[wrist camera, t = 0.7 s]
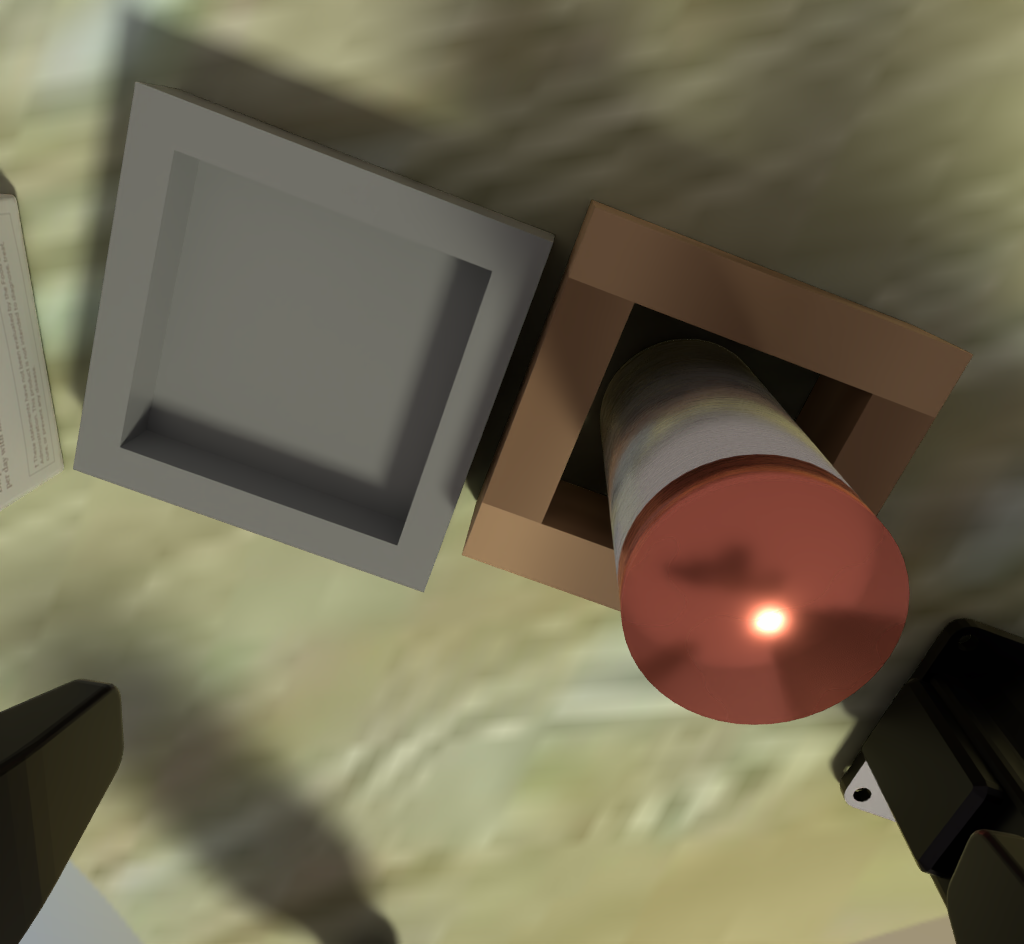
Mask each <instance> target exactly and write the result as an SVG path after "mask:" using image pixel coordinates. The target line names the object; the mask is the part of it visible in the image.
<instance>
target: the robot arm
mask: <svg viewBox="0 0 1024 944" xmlns="http://www.w3.org/2000/svg"><path fill="white" fill-rule="evenodd" d="M966 635H971V637H970V638H969V639H968V640H967V641H965V642H962V643H958V642H959V640H960V639H961V638H962V637H963V636H966ZM123 749H124V741H123V724H122V707H121V696H120V692H119V690H118V688H117V687H116V686H114V685H113V684H110V683H104V682H98V681H92V680H86V679H78V680H74V681H71V682H69V683H66V684H64V685H62V686H59V687H57V688H55V689H53V690H50V691H48V692H46V693H43V694H41V695H39V696H36V697H34V698H32V699H29V700H27V701H25V702H23V703H20V704H18V705H16V706H13V707H11V708H9V709H6V710H4V711H2V712H0V944H18V943H19V942H20V940H21V939H22V938H23V936H24V934H25V933H26V932H27V930H28V929H29V927H30V925H31V924H32V922H33V921H34V919H35V918H36V916H37V915H38V913H39V911H40V910H41V908H42V907H43V905H44V903H45V901H46V900H47V898H48V896H49V895H50V893H51V891H52V890H53V888H54V886H55V884H56V882H57V881H58V879H59V877H60V875H61V873H62V871H63V870H64V868H65V866H66V864H67V862H68V860H69V859H70V857H71V855H72V853H73V851H74V849H75V848H76V846H77V844H78V842H79V840H80V838H81V837H82V835H83V833H84V831H85V829H86V827H87V825H88V824H89V822H90V820H91V818H92V816H93V814H94V813H95V811H96V809H97V807H98V805H99V803H100V801H101V800H102V798H103V796H104V794H105V792H106V790H107V789H108V787H109V785H110V783H111V781H112V779H113V778H114V776H115V774H116V772H117V770H118V768H119V765H120V763H121V759H122V755H123ZM859 788H864V789H863V790H862V791H858V792H857V791H856V790H857V789H859ZM840 789H841V792H842V794H843V797H844V799H845V801H846V802H847V803H848V804H849V805H850V806H852V807H854V808H857V809H860V810H863V811H866V812H869V813H872V814H874V815H877V816H880V817H883V818H886V819H889V820H892V821H895V822H896V823H897V825H898V827H899V829H900V831H901V833H902V835H903V837H904V839H905V841H906V843H907V845H908V847H909V849H910V851H911V853H912V855H913V857H914V859H915V861H916V863H917V865H918V867H919V869H920V870H921V871H922V872H925V873H928V874H930V876H931V878H932V880H933V882H934V884H935V886H936V888H937V890H938V892H939V894H940V896H941V898H942V900H943V902H944V903H945V905H946V907H947V910H948V915H949V919H950V922H951V926H952V929H953V934H954V937H955V941H956V944H1024V638H1021V637H1018V636H1016V635H1013V634H1010V633H1007V632H1005V631H1002V630H999V629H996V628H994V627H991V626H988V625H986V624H983V623H980V622H977V621H975V620H972V619H966V618H963V619H956V620H954V621H953V622H951V623H949V624H948V625H947V626H946V627H945V628H944V629H943V631H942V632H941V634H940V635H939V637H938V638H937V640H936V641H935V643H934V644H933V646H932V647H931V649H930V650H929V652H928V653H927V654H926V656H925V657H924V659H923V660H922V662H921V663H920V665H919V666H918V668H917V669H916V671H915V672H914V674H913V675H912V677H911V678H910V680H909V681H908V682H907V683H905V684H904V686H903V687H902V689H901V690H900V692H899V693H898V695H897V696H896V698H895V699H894V701H893V702H892V703H891V705H890V706H889V708H888V709H887V711H886V712H885V714H884V715H883V717H882V718H881V720H880V721H879V723H878V724H877V726H876V727H875V729H874V730H873V732H872V733H871V734H870V736H869V737H868V739H867V740H866V742H865V743H864V745H863V746H862V750H861V752H860V753H859V755H858V756H857V758H856V759H855V761H854V762H853V764H852V765H851V766H850V768H849V769H848V771H847V772H846V774H845V775H844V777H843V778H842V780H841V783H840Z"/></svg>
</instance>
